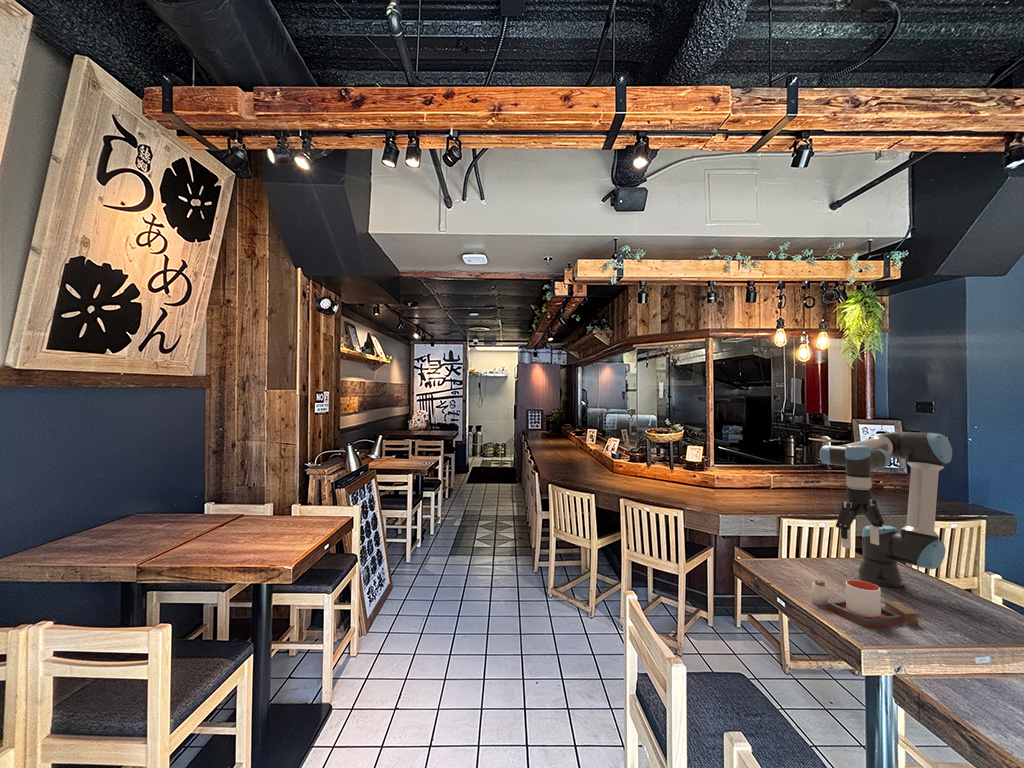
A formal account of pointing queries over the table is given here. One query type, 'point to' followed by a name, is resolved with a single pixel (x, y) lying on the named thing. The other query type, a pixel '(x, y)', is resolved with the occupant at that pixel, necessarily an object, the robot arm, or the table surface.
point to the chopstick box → (902, 612)
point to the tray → (883, 620)
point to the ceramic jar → (820, 593)
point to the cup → (863, 598)
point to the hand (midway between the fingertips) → (860, 545)
